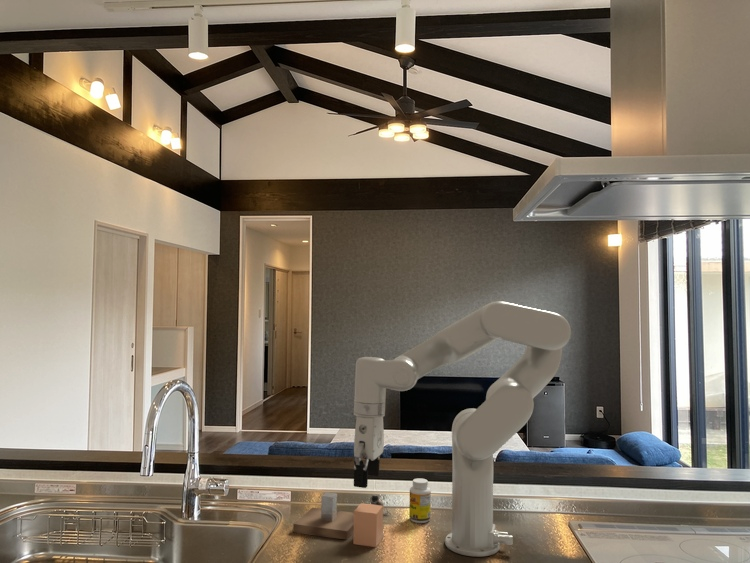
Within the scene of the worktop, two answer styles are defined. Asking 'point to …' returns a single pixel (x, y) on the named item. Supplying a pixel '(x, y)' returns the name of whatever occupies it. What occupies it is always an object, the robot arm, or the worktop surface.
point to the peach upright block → (368, 525)
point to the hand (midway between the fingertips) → (366, 480)
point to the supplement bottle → (420, 501)
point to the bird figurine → (378, 503)
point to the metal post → (329, 506)
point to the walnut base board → (325, 524)
